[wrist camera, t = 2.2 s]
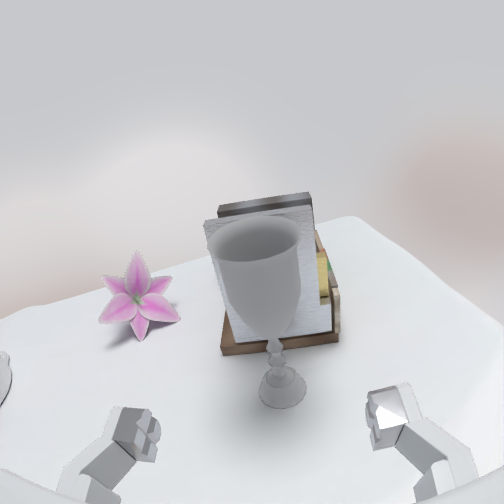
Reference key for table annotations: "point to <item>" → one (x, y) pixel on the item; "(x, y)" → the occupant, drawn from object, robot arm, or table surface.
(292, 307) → the chalice
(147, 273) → the lily
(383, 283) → the table surface
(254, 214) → the grey metal angled plate
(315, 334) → the wooden book stand
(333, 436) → the table surface
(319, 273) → the drag pointer
